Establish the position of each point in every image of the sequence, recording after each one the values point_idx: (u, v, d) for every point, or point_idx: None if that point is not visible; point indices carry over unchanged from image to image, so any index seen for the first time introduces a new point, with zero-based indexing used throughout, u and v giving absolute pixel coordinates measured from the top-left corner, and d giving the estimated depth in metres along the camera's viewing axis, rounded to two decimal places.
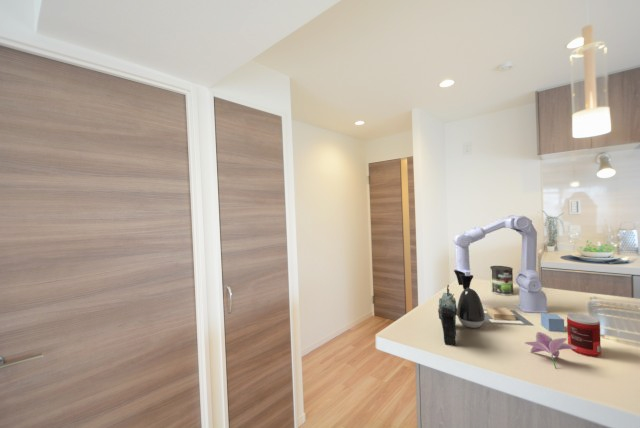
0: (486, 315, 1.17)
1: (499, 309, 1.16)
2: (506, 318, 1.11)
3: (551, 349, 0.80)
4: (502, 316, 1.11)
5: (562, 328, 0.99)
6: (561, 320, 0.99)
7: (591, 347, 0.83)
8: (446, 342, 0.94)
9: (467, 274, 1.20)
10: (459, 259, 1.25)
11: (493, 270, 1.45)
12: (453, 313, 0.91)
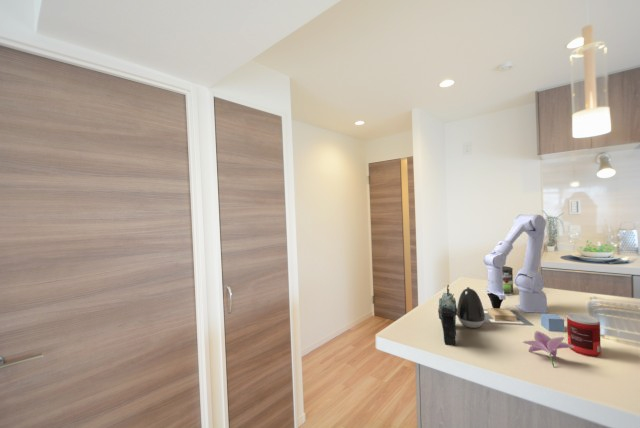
0: (486, 315, 1.17)
1: (500, 310, 1.15)
2: (507, 319, 1.10)
3: (549, 348, 0.81)
4: (503, 317, 1.10)
5: (562, 328, 0.99)
6: (561, 320, 0.99)
7: (591, 347, 0.83)
8: (446, 342, 0.94)
9: (502, 298, 1.12)
10: (494, 281, 1.16)
11: None
12: (453, 313, 0.91)
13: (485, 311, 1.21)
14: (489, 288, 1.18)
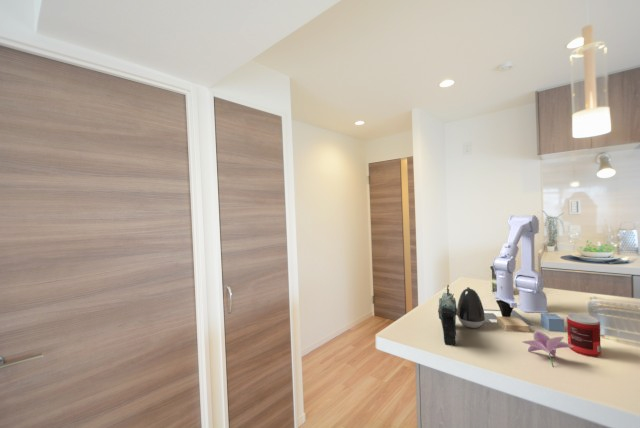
0: (486, 315, 1.17)
1: (511, 319, 1.06)
2: (519, 329, 1.01)
3: (549, 348, 0.81)
4: (514, 327, 1.01)
5: (562, 328, 0.99)
6: (561, 320, 0.99)
7: (591, 347, 0.83)
8: (446, 342, 0.94)
9: (513, 306, 1.02)
10: (508, 287, 1.07)
11: (493, 270, 1.45)
12: (453, 313, 0.91)
13: (485, 311, 1.21)
14: (498, 295, 1.09)
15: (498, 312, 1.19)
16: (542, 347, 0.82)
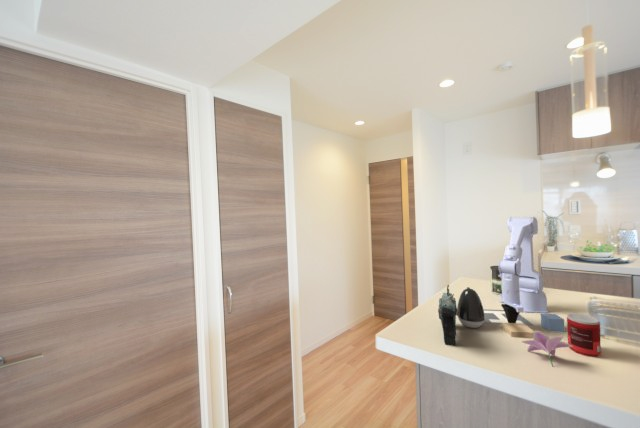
0: (486, 315, 1.17)
1: (516, 325, 1.02)
2: (525, 336, 0.96)
3: (548, 348, 0.81)
4: (520, 334, 0.96)
5: (562, 328, 0.99)
6: (561, 320, 0.99)
7: (591, 347, 0.83)
8: (446, 342, 0.94)
9: (520, 310, 0.98)
10: (515, 291, 1.02)
11: (493, 270, 1.45)
12: (453, 313, 0.91)
13: (485, 311, 1.21)
14: (504, 299, 1.05)
15: (498, 312, 1.19)
16: (542, 347, 0.82)
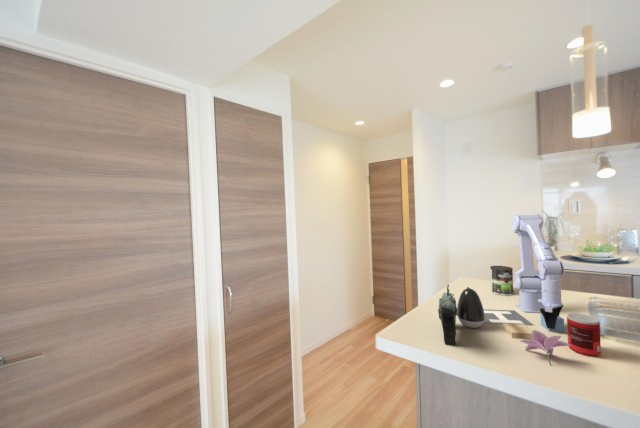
0: (486, 315, 1.17)
1: (517, 326, 1.01)
2: (526, 337, 0.95)
3: (546, 347, 0.82)
4: (521, 335, 0.96)
5: (562, 328, 0.99)
6: (561, 320, 0.99)
7: (591, 347, 0.83)
8: (446, 342, 0.94)
9: (547, 310, 0.97)
10: (560, 291, 0.99)
11: (493, 270, 1.45)
12: (453, 313, 0.91)
13: (485, 311, 1.21)
14: (542, 298, 1.03)
15: (498, 312, 1.19)
16: (540, 346, 0.83)
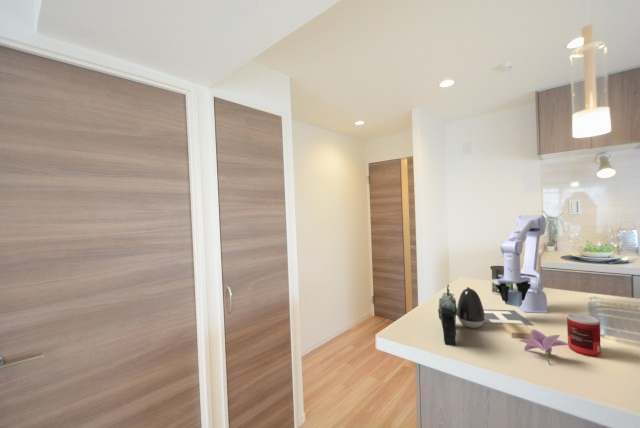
0: (486, 315, 1.17)
1: (517, 326, 1.01)
2: (526, 337, 0.95)
3: (545, 346, 0.82)
4: (521, 335, 0.96)
5: (517, 303, 1.08)
6: (516, 295, 1.08)
7: (591, 347, 0.83)
8: (446, 342, 0.94)
9: (496, 282, 1.11)
10: (515, 269, 1.08)
11: (493, 270, 1.45)
12: (453, 313, 0.91)
13: (485, 311, 1.21)
14: None
15: (498, 312, 1.19)
16: (538, 345, 0.83)
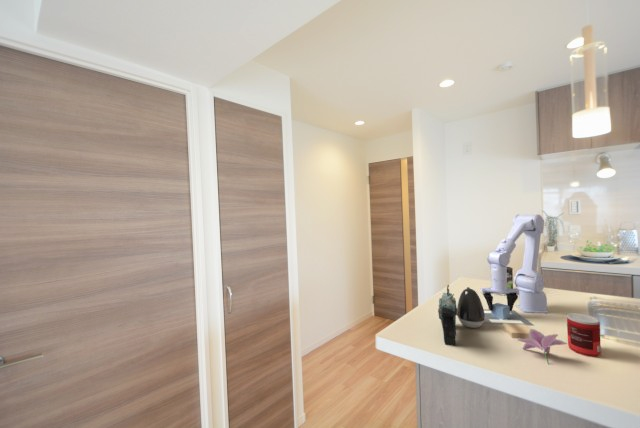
0: (486, 315, 1.17)
1: (517, 326, 1.01)
2: None
3: (544, 346, 0.82)
4: (521, 335, 0.96)
5: (501, 316, 1.12)
6: (500, 308, 1.12)
7: (591, 347, 0.83)
8: (446, 342, 0.94)
9: (481, 291, 1.16)
10: (500, 280, 1.12)
11: None
12: (453, 313, 0.91)
13: (485, 311, 1.21)
14: None
15: None
16: (537, 345, 0.83)
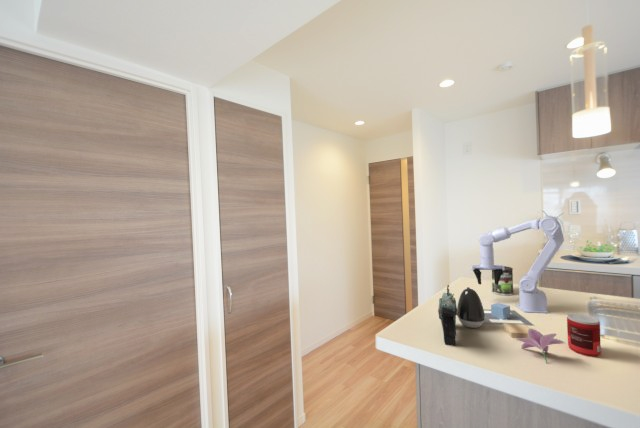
0: (486, 315, 1.17)
1: (518, 326, 1.01)
2: None
3: (542, 345, 0.83)
4: (521, 335, 0.96)
5: (501, 316, 1.12)
6: (501, 308, 1.12)
7: (591, 347, 0.83)
8: (446, 342, 0.94)
9: (471, 268, 1.33)
10: (481, 257, 1.31)
11: (493, 270, 1.45)
12: (453, 313, 0.91)
13: (485, 311, 1.21)
14: None
15: None
16: (536, 344, 0.84)
